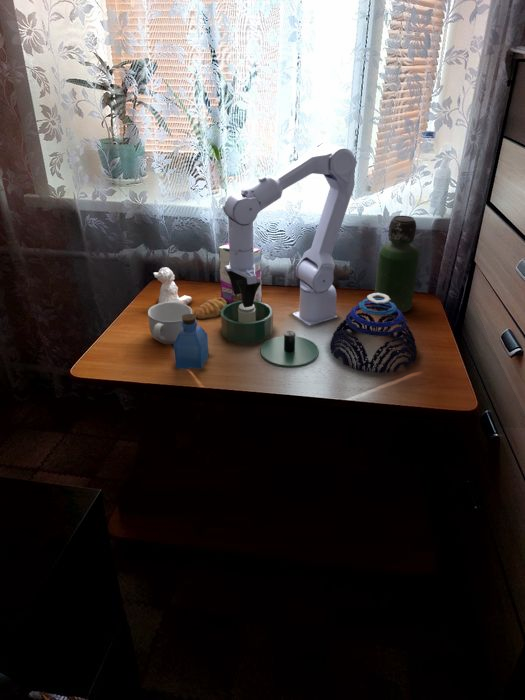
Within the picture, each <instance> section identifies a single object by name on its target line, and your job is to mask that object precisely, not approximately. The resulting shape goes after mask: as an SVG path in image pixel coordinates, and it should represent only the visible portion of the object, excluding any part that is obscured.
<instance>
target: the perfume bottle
mask: <svg viewBox="0 0 525 700" xmlns="http://www.w3.org/2000/svg"><path fill="white" fill-rule="evenodd" d="M182 320H183V321H182V322H181V323H182V327H183V328H182V329H181V331H180V332H179V334H178V336H177V339H176V341H175V343H174V344H173V354H174V362H175V363H174V364H175V369H178V370H179V369H180V370H189V371H190V370H191V369H201V370H202V369H203V368H204V365H205V363H206V361H207V359H208V357H209V355H210V352H209V337H208V333H207V331H205V330H204V328H203V327H202V326H201V325H198V321H197V317H196V316H195V315H194V313H192V314H185V315H183V316H182Z"/></svg>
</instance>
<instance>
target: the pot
mask: <svg viewBox="0 0 525 700" xmlns="http://www.w3.org/2000/svg"><path fill="white" fill-rule="evenodd" d="M242 303H243V302H242V301H236V302H233V303H227V305H226V306H224V307H223V309H222V310H221V315H220V323H221V324H220V325H221V334H222V336H223V337H224V338H225V339H226V340H227V341H230V342H233V343H238V344H255V343H260V342H262V341H265V340H267V339H268V338H270V337H271V336H272V334H273V332H274V311H273V308H272V307H271V306H270V305H269V304H267V303H266V302H263V301H262V302H259V301H254V302H253V304H254V306H255V309H256V322H248V323H243V322H238V308H239V305H240V304H242Z"/></svg>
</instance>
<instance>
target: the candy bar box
mask: <svg viewBox="0 0 525 700" xmlns="http://www.w3.org/2000/svg"><path fill="white" fill-rule="evenodd" d="M229 255H230V253H229V242H226V243H224V244H223V245H221V246H219V247H218V262H219V263H218V265H219V280H220V298H223V299H224V300H225V301H226V303H228V304H230V303H233V302H236V301H242V296H241V294H237V295H235V294H234V292H233V289H232V285H231V281H230V278H229V276H228V274H227V272H226V270H225V266H227V265H229ZM254 264H255V275H256V279H258V278H259V279H260V280H261V284H260V286H259V287H258V289H257V291H256V294H255V298H254V301H259V302H262V303H263V291H262V289H263V288H262V281H263V280H262V279H263V278H262V249H261V248H257V247H254Z"/></svg>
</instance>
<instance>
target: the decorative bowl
mask: <svg viewBox="0 0 525 700" xmlns="http://www.w3.org/2000/svg"><path fill="white" fill-rule="evenodd" d="M375 296H380V297H383V298H385V299H383V298H374V297H375ZM389 300H391V299H390V298H389V296H387V295H385V294H381V293H375V292H373V293H370V294H368V295H366V298H364V299H363V300H362V301H360V302H358V304H357V305H355V306H354V307H352V309H351V310H350V312H348V313H347V315H346V316H345V318H344V319H343V321H342V322H340V323H339V325H338V326H337V327H336V330H334V332H333V335H332V337H331V340H330V343H329V345H330V347H329V349H330V353H331V354H332V356H333V358H335V359H338V358H340V359H341V361H342V363H343V365H345V366H346V367H349V368H351V369H353V370H356V371H359V372H365V373H370V374H371V373H374V374H378V373H379V374H385V373H390V372H391V369H392V367H393V365H394V364H395V365H394V367H393V370H392V373H395V372H397V371H398V370H399V369H400V367H401V366H403V367H405V368H408V367H410V365H411V364H412V363H415V362H416V358H417V353H418V350H417V349H418V347H417V344H416V339H415V336H414V334H413V332H412V331H411V329H410V327H409V325H408V323H407V322H408V320H407V318H406V317H405V316H404V313H401V312H400V310H398V309H397V308H396V305H395V304H394V303H392V302H390V301H389ZM386 302H387V303H388V304H385V303H386ZM389 304H390V305H389ZM374 305H377V306H374ZM378 305H381V306H378ZM382 306H387V307H390V308H385V307H382ZM379 309H381V310H386V311H381V310H379ZM358 311H362V312H358ZM393 314H394V315H393ZM372 315H374V316H381V317H380V318H378V319H377V321H375V318H374V317H373V316H372ZM397 325H398V326H397ZM395 326H396V327H395ZM379 328H380V329H379ZM391 328H392V329H391ZM349 331H350V332H351V333H350V332H349ZM353 332H358V333H359V334H360V333H361V334H362V335H368V336H373V337H383V336H385V337H387V336H388V337H390V336H391V337H392V338H393V339H391V340H387V341H385V342H384V343H383V345H381V346H380V347H379V348H378V349H377V350H375V353H374V354H373V355H372V358H371V359H370V360H369V357H368V356H369V355H368V353H367V350H366V348H365V346H364V345H363V343H362V341H360V339H359V337H357V336H355V335H353V334H352V333H353ZM395 333H396V334H395ZM399 341H400V342H399ZM397 342H399V343H397ZM391 343H392V345H391ZM393 343H396V344H393ZM347 348H348V349H347ZM397 348H400V349H397ZM394 349H395V350H394ZM384 351H385V352H384ZM350 352H351V353H350ZM383 352H384V353H383ZM351 354H352V355H351ZM381 354H382V355H381ZM388 355H389V356H388ZM387 356H388V357H387ZM386 358H387V359H386ZM403 358H405V359H407V360H402V361H399V362H397V360H400V359H403ZM384 359H386V360H385V362H384ZM377 360H378V361H377ZM354 362H355V364H354ZM396 362H397V363H396ZM381 365H382V366H381Z"/></svg>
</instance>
